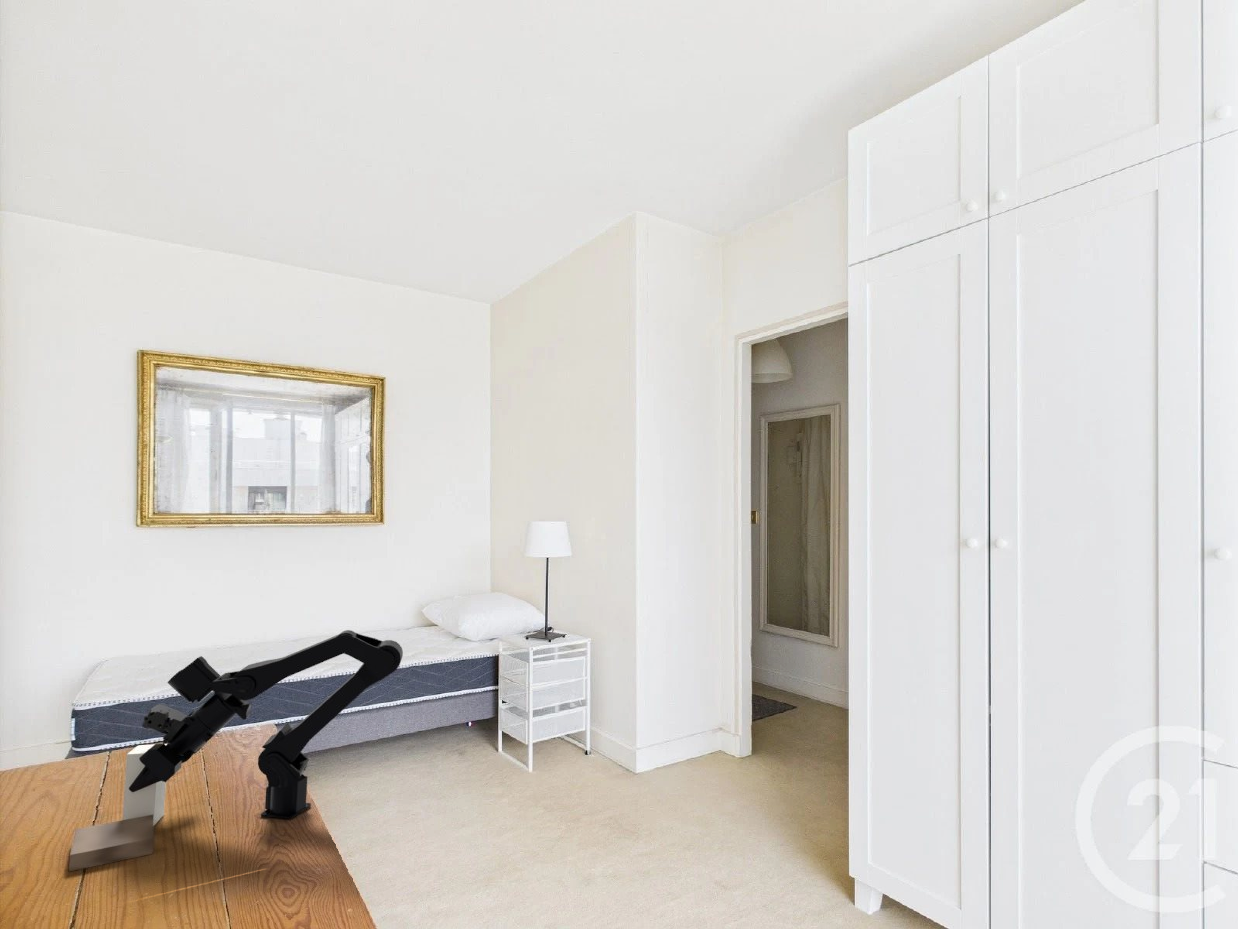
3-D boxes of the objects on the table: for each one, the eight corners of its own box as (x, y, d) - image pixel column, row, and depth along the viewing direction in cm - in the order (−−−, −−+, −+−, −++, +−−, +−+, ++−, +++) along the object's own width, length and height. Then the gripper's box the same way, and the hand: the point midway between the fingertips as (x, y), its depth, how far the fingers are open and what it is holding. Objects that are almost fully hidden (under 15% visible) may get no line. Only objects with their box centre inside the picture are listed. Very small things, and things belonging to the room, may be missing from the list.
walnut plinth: (151, 829, 124) (152, 814, 124) (152, 853, 115) (154, 838, 115) (74, 844, 118) (75, 829, 118) (68, 871, 109) (70, 855, 109)
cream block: (163, 815, 130) (168, 743, 131) (153, 826, 125) (158, 752, 126) (133, 817, 129) (138, 745, 130) (121, 829, 124) (126, 754, 125)
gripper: (193, 679, 139) (126, 739, 135) (157, 703, 121) (78, 773, 117) (234, 717, 140) (168, 778, 137) (204, 746, 122) (127, 817, 119)
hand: (137, 784), depth 127 cm, fingers closed on cream block, 5 cm apart
